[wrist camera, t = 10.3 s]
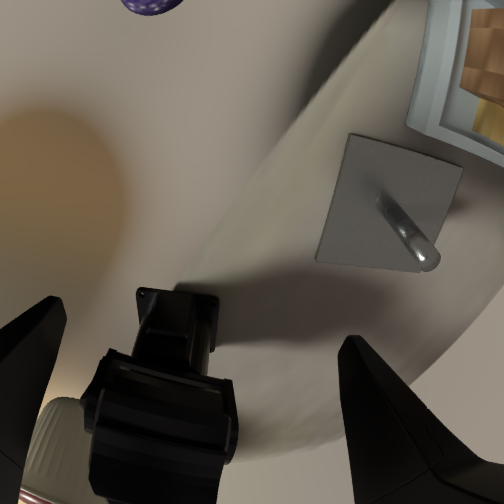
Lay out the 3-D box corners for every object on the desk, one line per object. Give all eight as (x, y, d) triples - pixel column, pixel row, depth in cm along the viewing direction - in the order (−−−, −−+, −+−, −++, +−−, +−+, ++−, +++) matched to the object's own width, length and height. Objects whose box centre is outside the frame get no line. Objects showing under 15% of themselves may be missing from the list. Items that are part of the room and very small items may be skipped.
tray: (516, 171, 18) (535, 184, 16) (405, 124, 17) (424, 134, 15) (544, 43, 11) (565, 48, 9) (432, -36, 10) (453, -43, 8)
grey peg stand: (418, 269, 23) (449, 321, 18) (314, 258, 22) (332, 318, 17) (460, 166, 18) (511, 204, 13) (348, 133, 17) (388, 165, 12)
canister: (15, 377, 33) (-27, 495, 16) (106, 382, 32) (69, 548, 14) (80, 434, 43) (59, 533, 26) (167, 443, 41) (155, 562, 24)
